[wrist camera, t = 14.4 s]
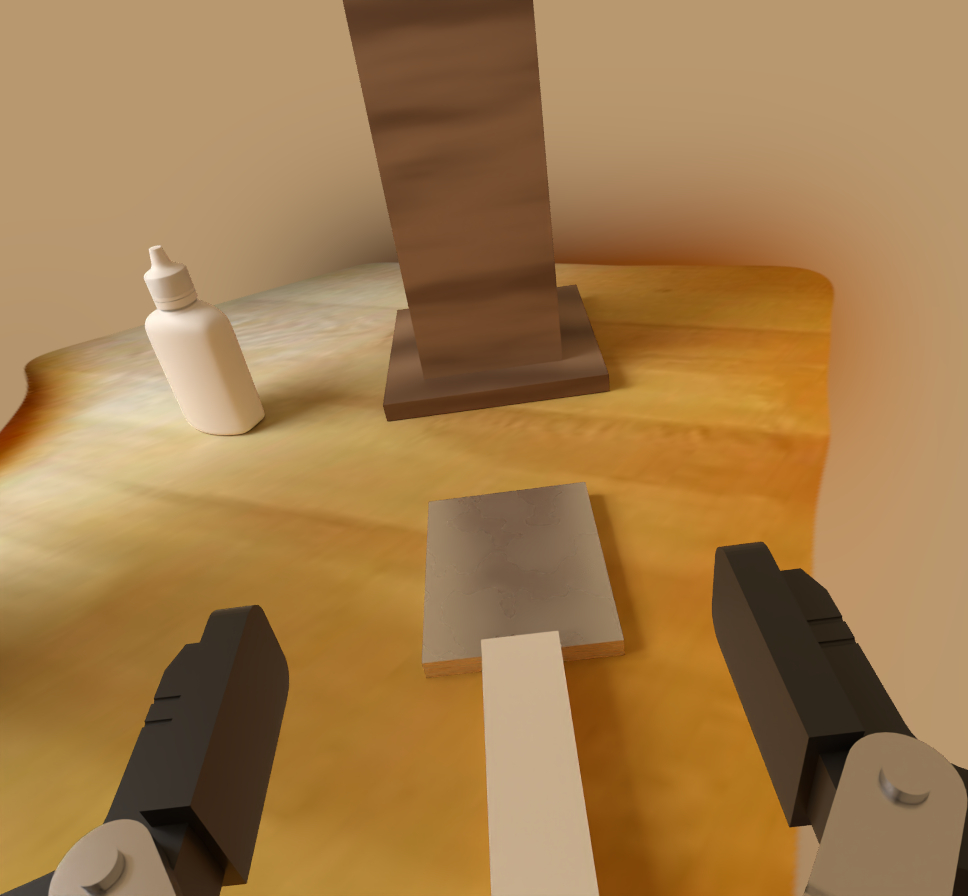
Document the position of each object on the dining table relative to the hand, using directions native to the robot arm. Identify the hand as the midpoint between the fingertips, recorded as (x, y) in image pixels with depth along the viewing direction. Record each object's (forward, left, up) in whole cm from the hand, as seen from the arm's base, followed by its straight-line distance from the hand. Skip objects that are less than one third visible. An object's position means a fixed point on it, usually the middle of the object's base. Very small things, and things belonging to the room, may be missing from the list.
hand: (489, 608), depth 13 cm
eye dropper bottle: (-29, +22, -14) cm, 39 cm away
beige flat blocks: (-3, +6, -14) cm, 16 cm away
